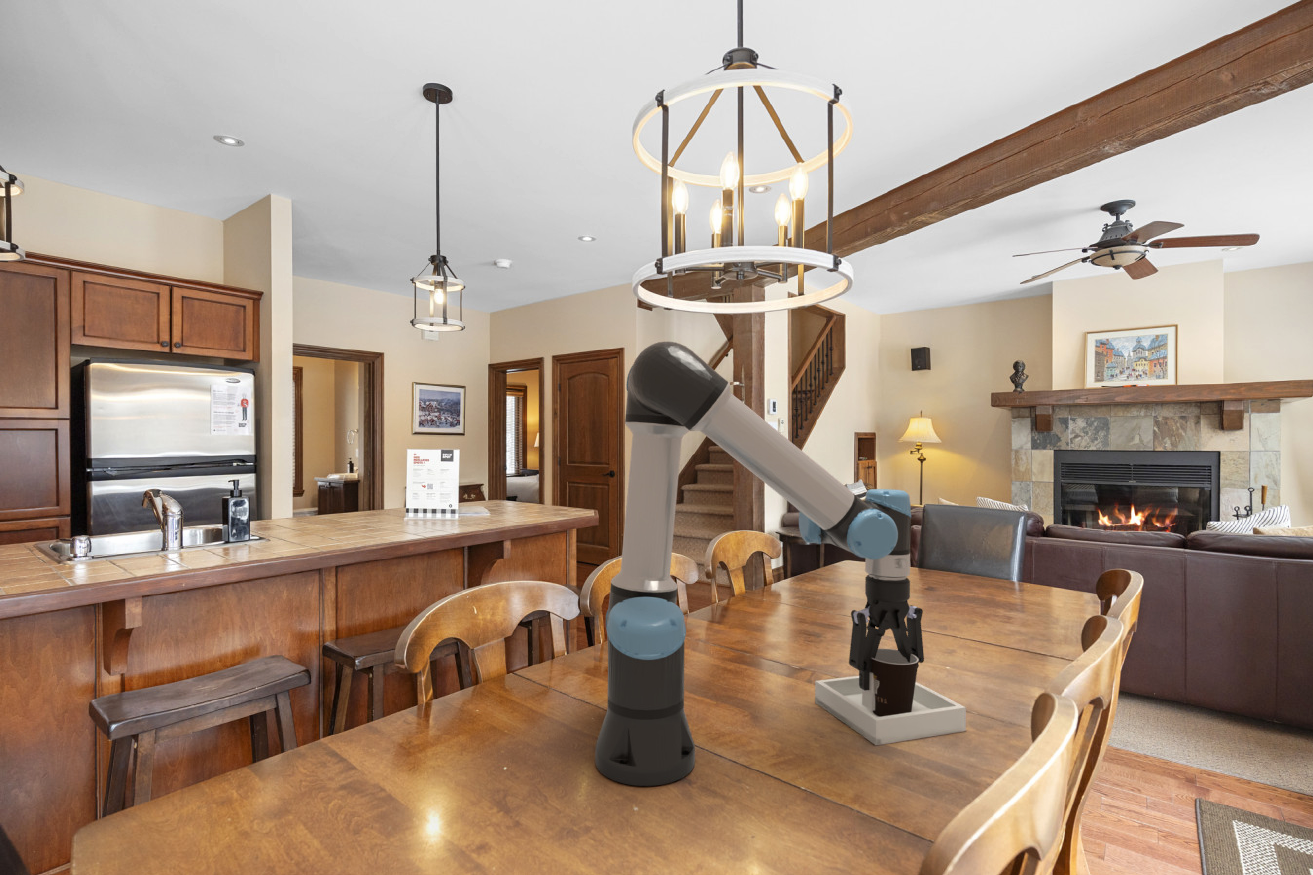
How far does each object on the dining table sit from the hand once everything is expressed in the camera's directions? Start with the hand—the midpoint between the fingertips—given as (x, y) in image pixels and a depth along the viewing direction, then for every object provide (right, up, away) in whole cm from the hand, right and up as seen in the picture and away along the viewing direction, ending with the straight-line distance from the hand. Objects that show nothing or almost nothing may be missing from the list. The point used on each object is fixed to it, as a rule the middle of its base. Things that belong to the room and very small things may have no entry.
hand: (886, 704), depth 115 cm
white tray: (0, -2, 0) cm, 2 cm away
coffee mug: (+1, -1, 0) cm, 1 cm away
